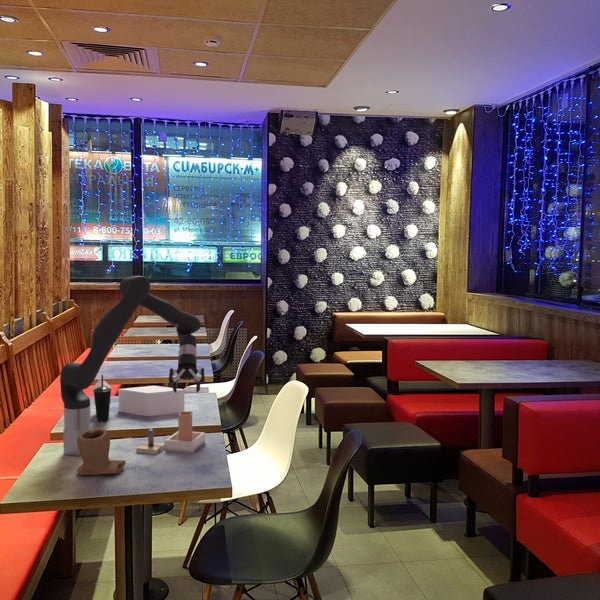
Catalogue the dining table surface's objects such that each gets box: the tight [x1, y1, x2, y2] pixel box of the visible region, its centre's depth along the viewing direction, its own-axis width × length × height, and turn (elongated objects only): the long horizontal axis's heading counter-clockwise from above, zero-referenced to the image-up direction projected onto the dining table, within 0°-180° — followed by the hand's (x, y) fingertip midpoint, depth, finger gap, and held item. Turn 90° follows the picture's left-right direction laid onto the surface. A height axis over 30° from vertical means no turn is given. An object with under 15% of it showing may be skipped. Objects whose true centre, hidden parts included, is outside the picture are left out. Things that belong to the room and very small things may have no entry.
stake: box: [147, 428, 155, 447], centre depth 245 cm, size 3×2×6 cm
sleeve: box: [177, 411, 193, 442], centre depth 250 cm, size 5×5×12 cm
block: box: [117, 385, 185, 417], centre depth 299 cm, size 15×30×11 cm, turn 92°
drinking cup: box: [92, 374, 112, 423], centre depth 283 cm, size 8×8×20 cm
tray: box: [164, 430, 206, 454], centre depth 250 cm, size 13×11×4 cm
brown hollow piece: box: [76, 428, 127, 476], centre depth 220 cm, size 15×12×15 cm
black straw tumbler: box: [91, 378, 112, 404], centre depth 294 cm, size 8×8×16 cm
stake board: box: [135, 441, 165, 455], centre depth 246 cm, size 8×8×2 cm
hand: (186, 391), depth 260 cm, fingers open, 8 cm apart
